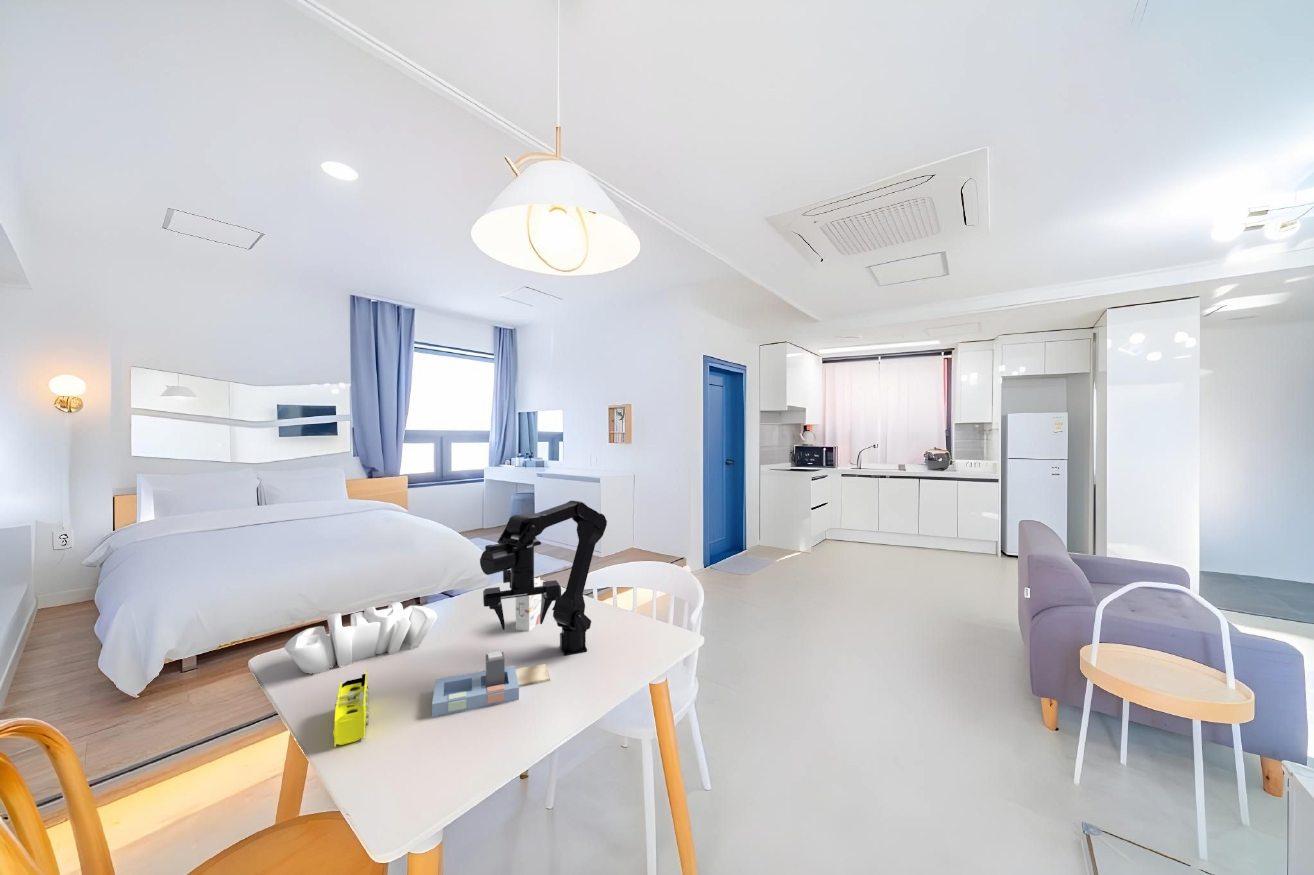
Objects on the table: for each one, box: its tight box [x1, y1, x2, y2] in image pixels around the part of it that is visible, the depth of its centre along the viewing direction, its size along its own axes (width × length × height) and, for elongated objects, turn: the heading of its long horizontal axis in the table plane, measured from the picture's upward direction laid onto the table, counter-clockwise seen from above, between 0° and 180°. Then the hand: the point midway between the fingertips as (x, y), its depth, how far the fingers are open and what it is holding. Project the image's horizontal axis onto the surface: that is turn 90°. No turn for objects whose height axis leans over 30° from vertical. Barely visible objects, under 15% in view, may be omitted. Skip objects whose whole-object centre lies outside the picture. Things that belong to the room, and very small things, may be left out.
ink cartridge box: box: [515, 576, 542, 632], centre depth 148 cm, size 9×5×15 cm, turn 168°
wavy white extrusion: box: [284, 601, 438, 675], centre depth 129 cm, size 35×16×11 cm, turn 125°
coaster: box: [515, 663, 551, 688], centre depth 116 cm, size 8×8×1 cm
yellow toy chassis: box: [332, 669, 370, 748], centre depth 97 cm, size 16×6×8 cm, turn 31°
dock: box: [431, 665, 520, 719], centre depth 107 cm, size 18×11×3 cm, turn 112°
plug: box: [485, 650, 506, 688], centre depth 109 cm, size 4×4×9 cm
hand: (522, 626), depth 117 cm, fingers open, 9 cm apart
